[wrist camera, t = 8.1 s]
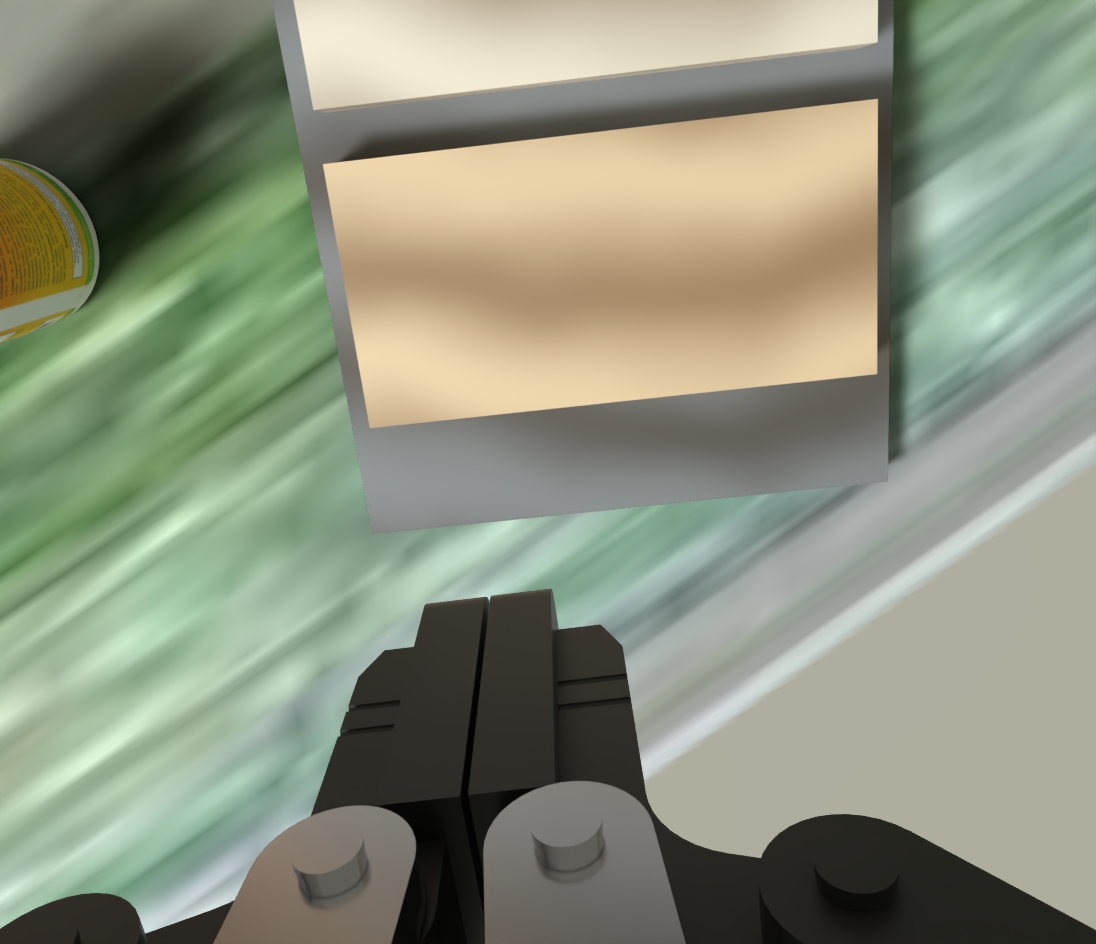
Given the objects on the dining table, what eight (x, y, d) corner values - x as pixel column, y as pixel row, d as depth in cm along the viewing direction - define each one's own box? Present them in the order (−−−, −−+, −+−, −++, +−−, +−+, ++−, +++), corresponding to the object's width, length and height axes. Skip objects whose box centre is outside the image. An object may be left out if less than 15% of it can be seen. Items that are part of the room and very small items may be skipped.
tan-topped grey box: (247, -189, 26) (212, -227, 24) (881, -273, 25) (920, -322, 23) (378, 521, 33) (363, 553, 31) (876, 470, 33) (904, 497, 30)
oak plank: (335, 164, 28) (322, 164, 27) (859, 102, 28) (877, 99, 26) (378, 415, 31) (369, 428, 29) (860, 363, 30) (877, 374, 28)
